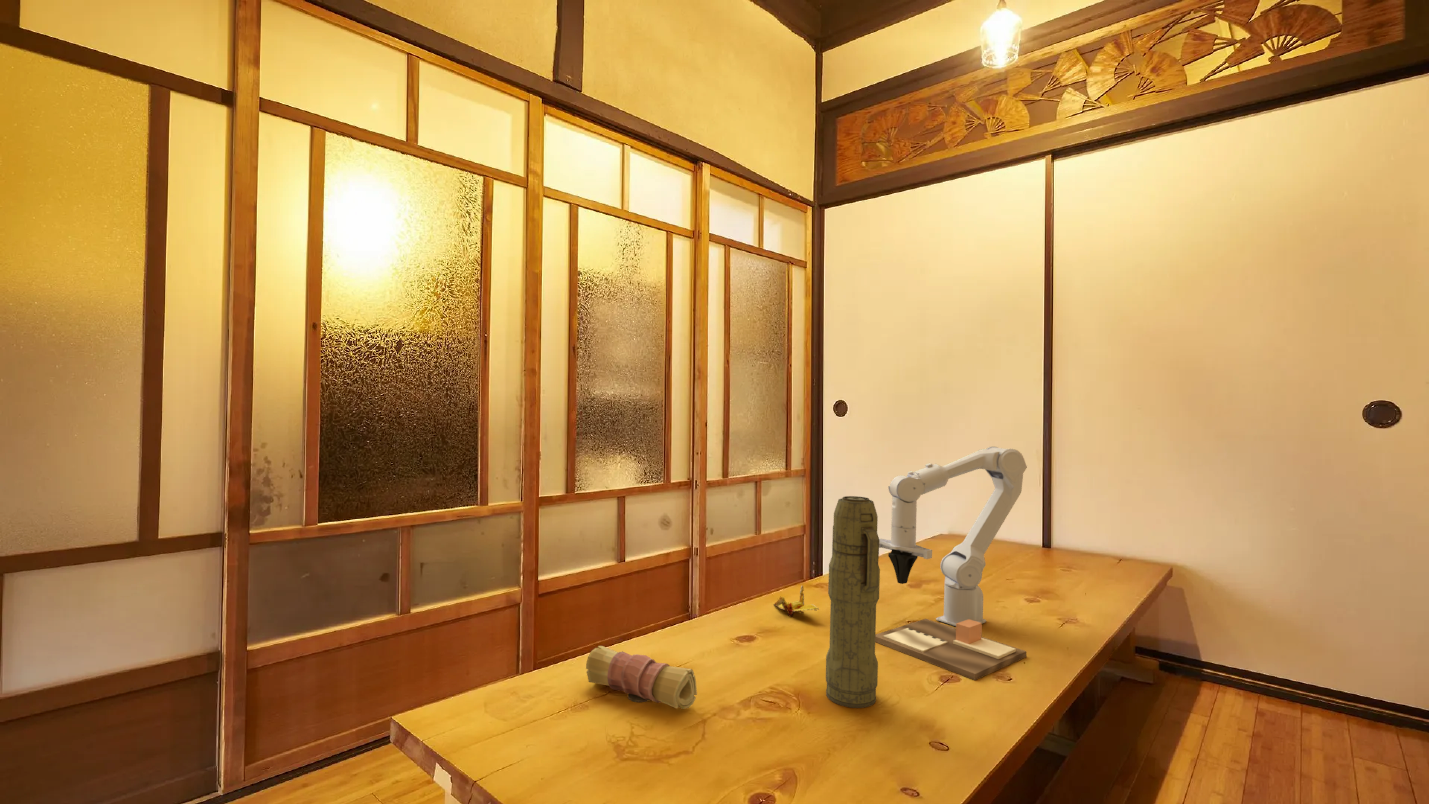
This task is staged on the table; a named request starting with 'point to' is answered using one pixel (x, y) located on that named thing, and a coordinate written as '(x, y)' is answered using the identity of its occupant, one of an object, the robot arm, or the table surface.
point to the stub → (979, 640)
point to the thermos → (853, 604)
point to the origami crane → (794, 604)
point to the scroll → (642, 677)
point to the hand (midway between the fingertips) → (902, 582)
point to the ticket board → (943, 649)
